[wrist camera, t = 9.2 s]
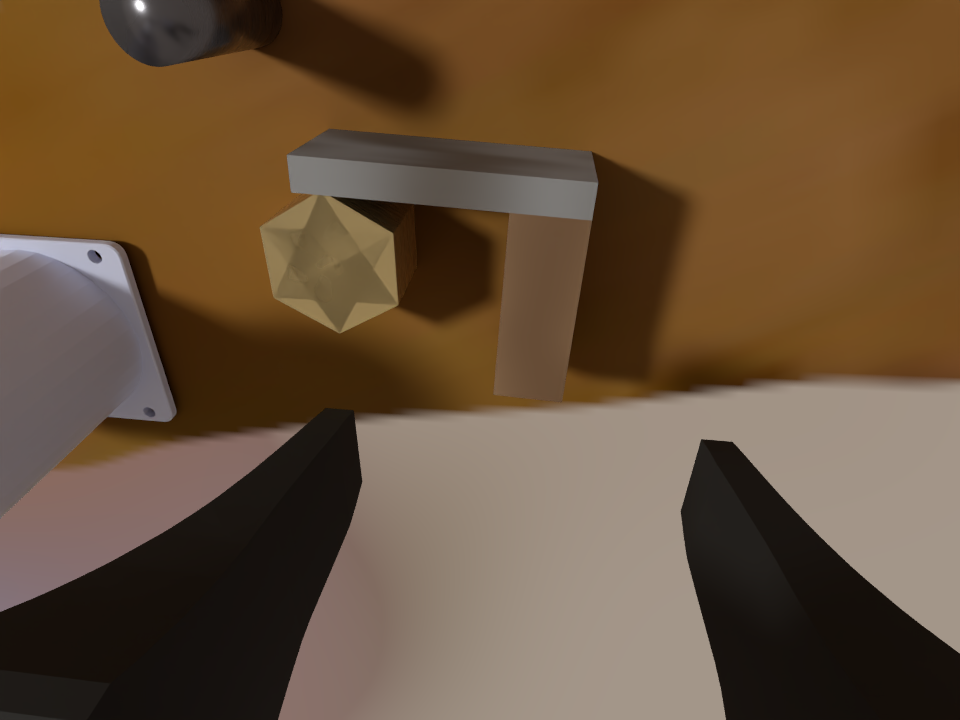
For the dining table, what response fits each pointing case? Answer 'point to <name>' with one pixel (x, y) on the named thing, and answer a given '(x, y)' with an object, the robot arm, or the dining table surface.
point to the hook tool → (490, 187)
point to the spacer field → (190, 27)
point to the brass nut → (340, 257)
